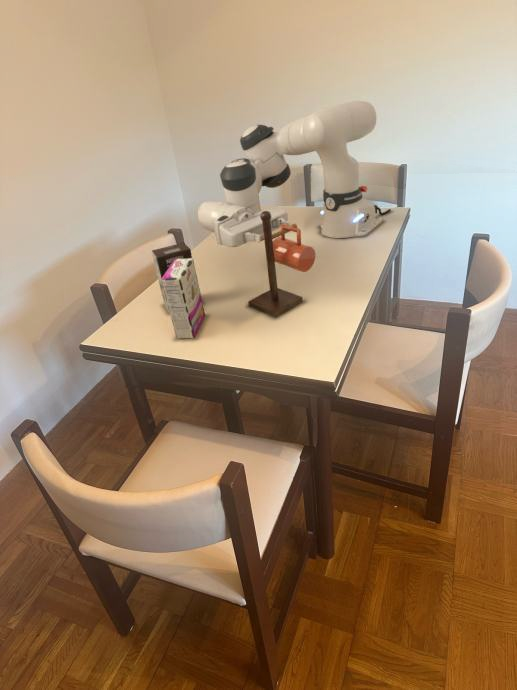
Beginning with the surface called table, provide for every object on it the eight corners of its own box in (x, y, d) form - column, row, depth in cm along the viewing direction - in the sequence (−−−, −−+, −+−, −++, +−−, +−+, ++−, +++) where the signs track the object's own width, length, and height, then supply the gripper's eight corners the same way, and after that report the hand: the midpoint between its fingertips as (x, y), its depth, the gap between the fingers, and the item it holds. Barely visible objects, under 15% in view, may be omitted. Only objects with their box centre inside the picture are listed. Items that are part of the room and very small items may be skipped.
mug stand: (287, 285, 135) (279, 196, 121) (314, 294, 128) (309, 202, 115) (248, 306, 127) (235, 214, 114) (275, 317, 121) (264, 221, 107)
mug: (298, 275, 119) (270, 264, 125) (315, 266, 122) (287, 256, 129) (297, 235, 113) (267, 226, 119) (315, 227, 116) (285, 218, 123)
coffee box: (170, 314, 129) (156, 257, 120) (164, 304, 134) (150, 249, 125) (202, 304, 131) (190, 248, 122) (195, 295, 136) (183, 241, 127)
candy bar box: (187, 316, 126) (174, 258, 118) (206, 316, 125) (194, 257, 117) (175, 339, 117) (159, 278, 108) (194, 339, 116) (180, 277, 107)
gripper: (268, 222, 139) (303, 231, 130) (213, 246, 128) (247, 257, 119) (266, 200, 136) (302, 207, 127) (209, 223, 125) (244, 233, 116)
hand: (275, 232), depth 123 cm, fingers open, 8 cm apart
